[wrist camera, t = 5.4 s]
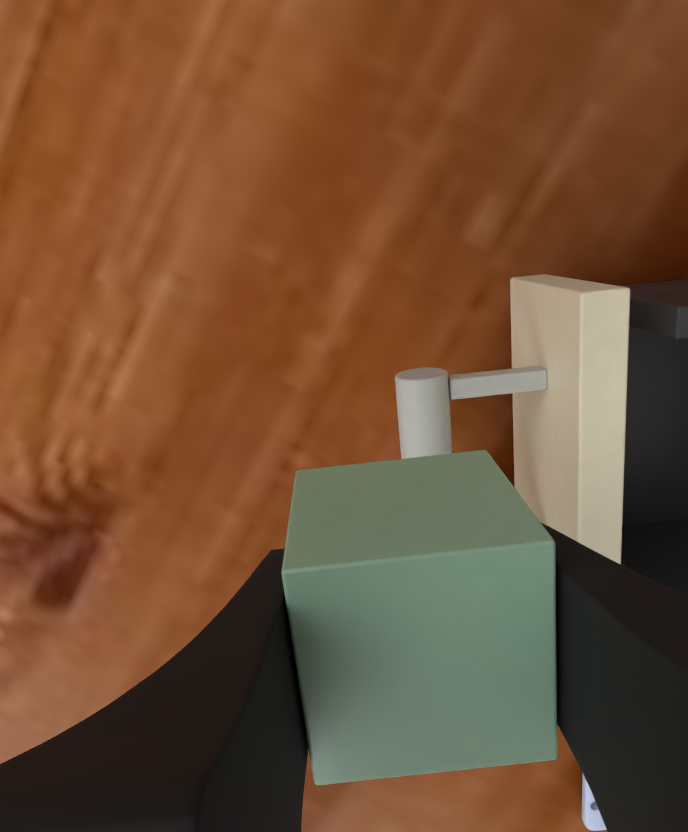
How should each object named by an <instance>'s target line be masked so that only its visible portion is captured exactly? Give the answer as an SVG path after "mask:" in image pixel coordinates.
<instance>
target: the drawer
mask: <svg viewBox="0 0 688 832" xmlns="http://www.w3.org/2000/svg"><path fill="white" fill-rule="evenodd" d="M510 300H511V345H512V369H503V370H494V371H484V372H475V373H465V374H456V375H448V372H447V371H446V370H443V369H439V368H416V369H410V370H405V371H402V372H400V373H398V374H396V376H395V385H396V398H397V411H398V423H399V436H400V448H401V459H405V458H414V457H423V456H432V455H441V454H450V453H452V437H451V418H450V399H449V397H450V398H451V399H462V398H472V397H481V396H491V395H500V394H510V393H513V436H514V482H515V489H516V490H517V492H518V493H519V494H520V496H521V497H522V498H523V500H524V501H525V502H526V504H527V505H528V506H529V508H530V509H531V510H532V512H533V513H534V514H535V516H536V517H537V518H538V520H539V521H540V522H541V523H543V524H545V525H547V526H549V527H551V528H553V529H555V530H557V531H559V532H560V533H562V534H564V535H566V536H568V537H570V538H572V539H573V540H575V541H577V542H579V543H581V544H583V545H584V546H586V547H588V548H590V549H592V550H594V551H595V552H597V553H599V554H601V555H603V556H605V557H607V558H609V559H611V560H613V561H615V562H617V563H619V564H621V565H623V566H625V567H627V568H629V569H631V570H633V571H635V572H637V573H639V574H641V575H644V576H646V577H648V578H650V579H652V580H655V581H657V582H659V583H661V584H663V585H665V586H668V587H670V588H673V589H675V590H677V591H680V592H682V593H685V594H687V595H688V279H680V280H670V281H661V282H651V283H642V284H632V285H623V286H616V285H609V284H603V283H597V282H590V281H584V280H578V279H572V278H565V277H559V276H553V275H546V274H541V275H532V276H522V277H513V278H511V279H510Z"/></svg>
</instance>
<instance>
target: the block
mask: <svg viewBox="0 0 688 832" xmlns="http://www.w3.org/2000/svg"><path fill="white" fill-rule="evenodd" d="M281 574H282V581H283V587H284V593H285V600H286V606H287V613H288V619H289V625H290V632H291V638H292V645H293V651H294V657H295V664H296V670H297V677H298V683H299V689H300V696H301V702H302V709H303V715H304V721H305V728H306V734H307V741H308V747H309V753H310V760H311V766H312V773H313V779H314V782H315V784H316V785H324V784H333V783H343V782H352V781H361V780H371V779H380V778H389V777H399V776H408V775H417V774H427V773H436V772H445V771H455V770H464V769H473V768H483V767H492V766H501V765H511V764H520V763H529V762H539V761H548V760H555V759H557V662H556V550H555V541H554V539H553V538H552V537H551V536H550V534H549V533H548V532H547V530H546V529H545V528H544V526H543V525H542V524H541V522H540V521H539V520H538V518H537V517H536V516H535V514H534V513H533V512H532V510H531V509H530V508H529V506H528V505H527V504H526V502H525V501H524V500H523V498H522V497H521V496H520V494H519V493H518V492H517V490H516V489H515V488H514V486H513V485H512V484H511V483H510V481H509V480H508V479H507V477H506V476H505V475H504V473H503V472H502V471H501V469H500V468H499V467H498V465H497V464H496V463H495V461H494V460H493V459H492V457H491V456H490V455H489V453H488V452H487V451H486V450H478V451H468V452H459V453H450V454H441V455H432V456H423V457H414V458H405V459H396V460H387V461H378V462H369V463H360V464H351V465H342V466H333V467H324V468H315V469H306V470H298V471H296V473H295V480H294V487H293V494H292V501H291V508H290V515H289V522H288V529H287V536H286V544H285V551H284V558H283V565H282V572H281Z"/></svg>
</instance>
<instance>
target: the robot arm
mask: <svg viewBox="0 0 688 832" xmlns="http://www.w3.org/2000/svg"><path fill="white" fill-rule="evenodd" d="M541 524H542V525H543V526H544V528H545V529H546V530H547V532H548V533H549V534H550V536H551V537H552V538H553V539H554V541H555V550H556V662H557V724H558V726H559V727H560V729H561V731H562V733H563V735H564V737H565V739H566V741H567V743H568V745H569V747H570V749H571V751H572V752H573V754H574V756H575V758H576V760H577V762H578V764H579V766H580V768H581V770H582V820H583V822H584V825H585V827H586V828H587V829H589V830H592V831H599V830H607V832H688V595H687V594H685V593H682V592H680V591H677V590H675V589H673V588H670V587H668V586H665V585H663V584H661V583H659V582H657V581H655V580H652V579H650V578H648V577H646V576H644V575H641V574H639V573H637V572H635V571H633V570H631V569H629V568H627V567H625V566H623V565H621V564H619V563H617V562H615V561H613V560H611V559H609V558H607V557H605V556H603V555H601V554H599V553H597V552H595V551H594V550H592V549H590V548H588V547H586V546H584V545H583V544H581V543H579V542H577V541H575V540H573V539H572V538H570V537H568V536H566V535H564V534H562V533H560V532H559V531H557V530H555V529H553V528H551V527H549V526H547V525H545V524H543V523H541ZM284 551H285V549H278V550H271V551H270V552H269V553H268V555H267V556H266V557H265V558H264V559H263V560H262V562H261V563H260V564H259V566H258V567H257V568H256V569H255V571H254V572H253V573H252V575H251V576H250V577H249V578H248V580H247V581H246V582H245V583H244V585H243V586H242V587H241V588H240V589H239V591H238V592H237V593H236V594H235V595H234V597H233V598H232V599H231V600H230V601H229V602H228V604H227V605H226V606H225V607H224V608H223V609H222V610H221V611H220V612H219V613H218V615H217V616H216V617H215V618H214V619H213V620H212V621H211V622H210V623H209V624H208V625H207V626H206V627H205V628H204V629H203V630H202V631H201V632H200V633H199V634H198V635H197V636H196V637H195V638H194V639H193V640H192V641H191V642H190V643H189V644H188V645H186V646H185V647H184V648H183V649H182V650H181V651H180V652H178V653H177V654H176V655H175V656H174V657H172V658H171V659H170V660H169V661H168V662H167V663H165V664H164V665H163V666H162V667H160V668H159V669H158V670H157V671H155V672H154V673H153V674H151V675H150V676H148V677H147V678H146V679H144V680H143V681H141V682H140V683H139V684H137V685H136V686H134V687H133V688H132V689H130V690H129V691H127V692H126V693H125V694H123V695H122V696H121V697H119V698H118V699H116V700H115V701H113V702H112V703H110V704H109V705H107V706H106V707H104V708H102V709H101V710H99V711H98V712H96V713H94V714H93V715H91V716H90V717H88V718H86V719H85V720H83V721H81V722H80V723H78V724H76V725H74V726H73V727H71V728H69V729H67V730H66V731H64V732H62V733H61V734H59V735H57V736H55V737H53V738H51V739H50V740H48V741H46V742H44V743H42V744H40V745H38V746H36V747H34V748H32V749H30V750H28V751H26V752H24V753H22V754H20V755H18V756H16V757H14V758H12V759H10V760H8V761H6V762H4V763H2V764H0V832H301V819H302V804H303V792H304V782H305V773H306V764H307V755H308V741H307V734H306V728H305V721H304V715H303V709H302V702H301V696H300V689H299V683H298V677H297V670H296V664H295V657H294V651H293V645H292V638H291V632H290V625H289V619H288V613H287V606H286V600H285V593H284V587H283V581H282V574H281V572H282V565H283V558H284Z"/></svg>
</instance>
